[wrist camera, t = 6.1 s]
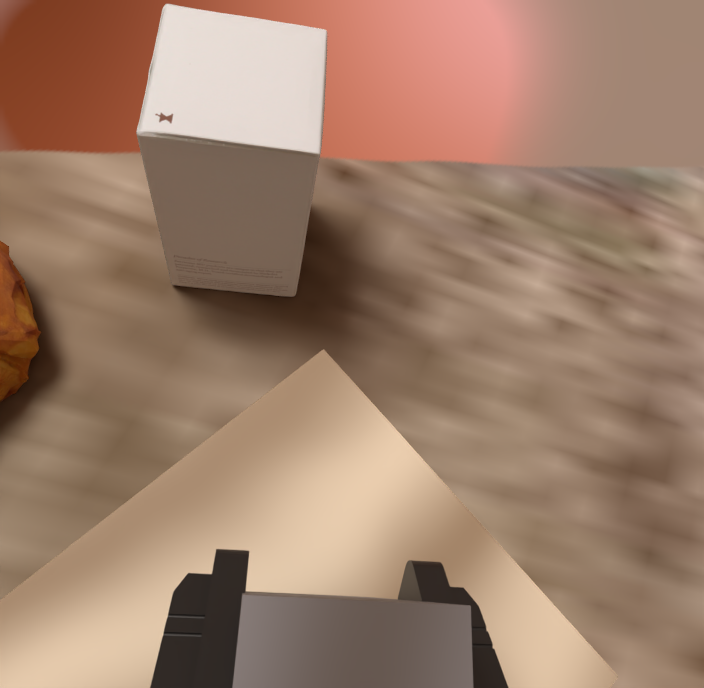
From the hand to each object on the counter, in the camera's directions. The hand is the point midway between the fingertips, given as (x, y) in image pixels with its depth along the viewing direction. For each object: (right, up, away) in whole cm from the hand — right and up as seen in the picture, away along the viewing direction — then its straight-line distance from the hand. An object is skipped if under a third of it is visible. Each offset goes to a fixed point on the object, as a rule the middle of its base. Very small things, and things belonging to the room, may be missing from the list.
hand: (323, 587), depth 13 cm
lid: (-1, -3, +3) cm, 5 cm away
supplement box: (-6, +12, +23) cm, 26 cm away
